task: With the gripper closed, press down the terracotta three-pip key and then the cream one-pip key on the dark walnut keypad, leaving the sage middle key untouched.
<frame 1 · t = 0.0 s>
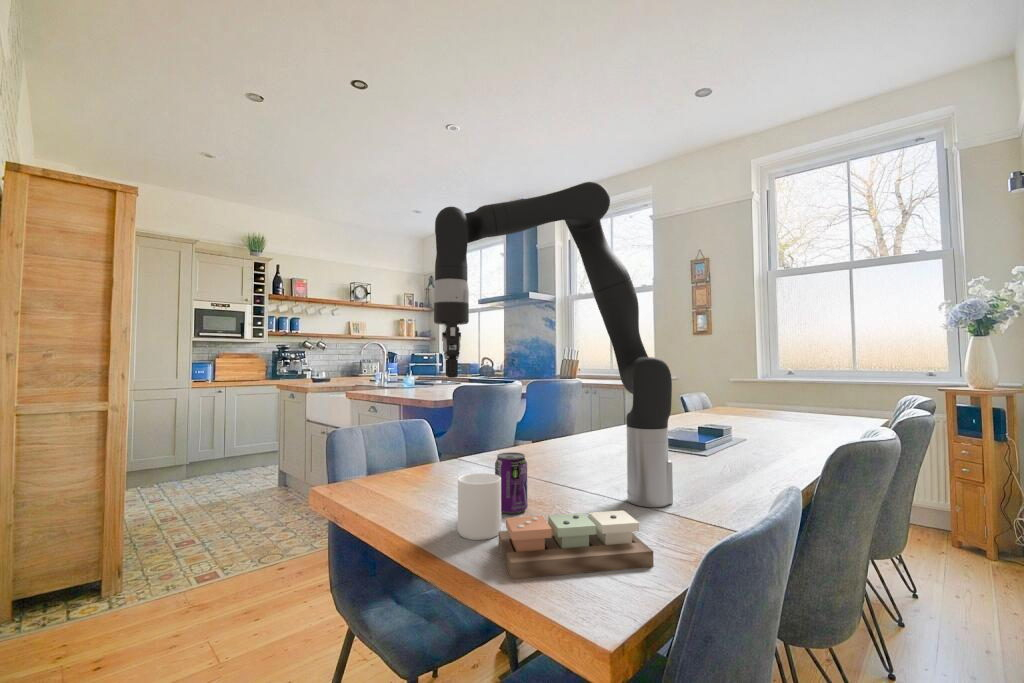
hand: (451, 376, 101), 29 cm above the table, fingers open, 8 cm apart
keypad board: (571, 555, 79), on the table
mug: (479, 530, 91), on the table
key two: (571, 531, 79), point 4 cm above the table, slide at 0.0 cm
key one: (613, 528, 80), point 4 cm above the table, slide at 0.0 cm
key three: (527, 534, 78), point 4 cm above the table, slide at 0.0 cm
beverage can: (511, 511, 102), on the table
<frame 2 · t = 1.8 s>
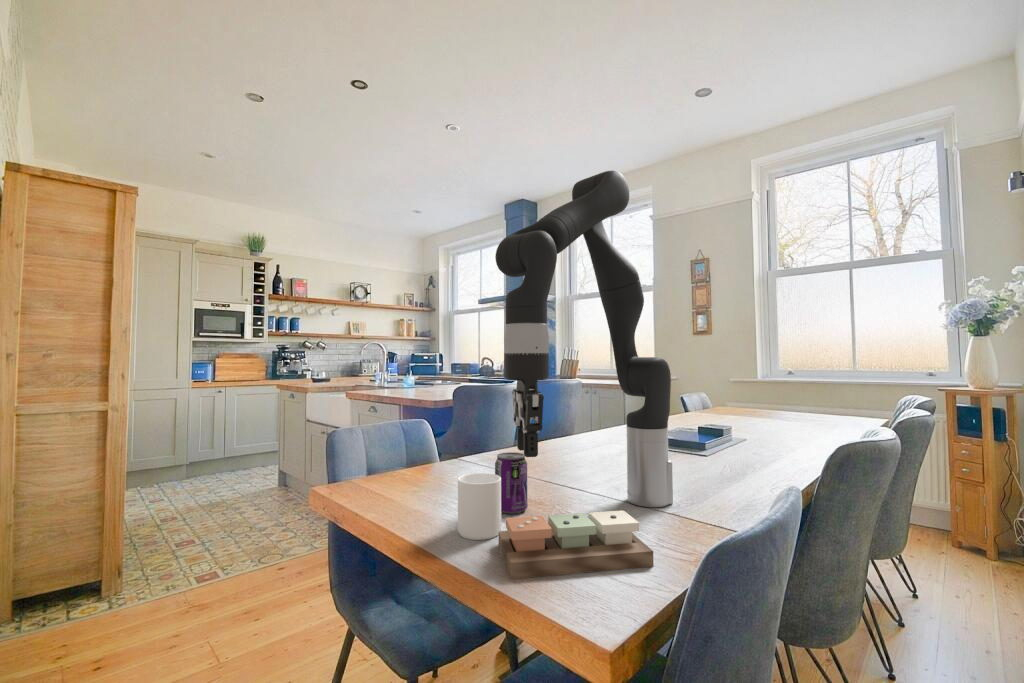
hand: (527, 452, 78), 17 cm above the table, fingers open, 5 cm apart
nothing on the table moved.
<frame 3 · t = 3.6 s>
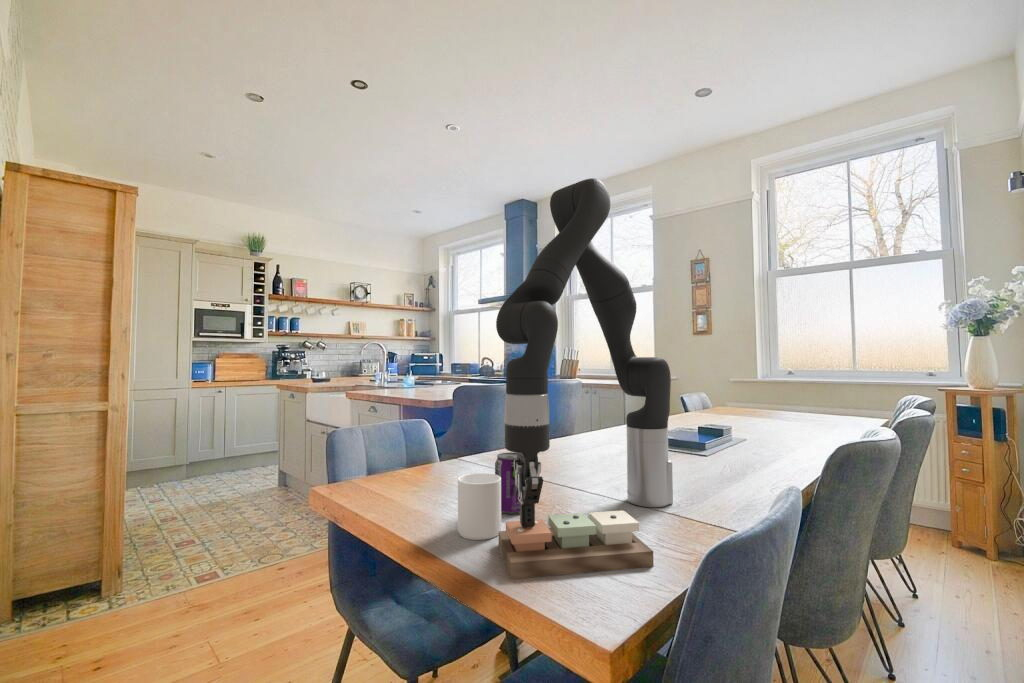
hand: (527, 525, 78), 5 cm above the table, fingers closed
key three: (527, 538, 78), point 3 cm above the table, slide at 0.6 cm, touching gripper
everything else where it was.
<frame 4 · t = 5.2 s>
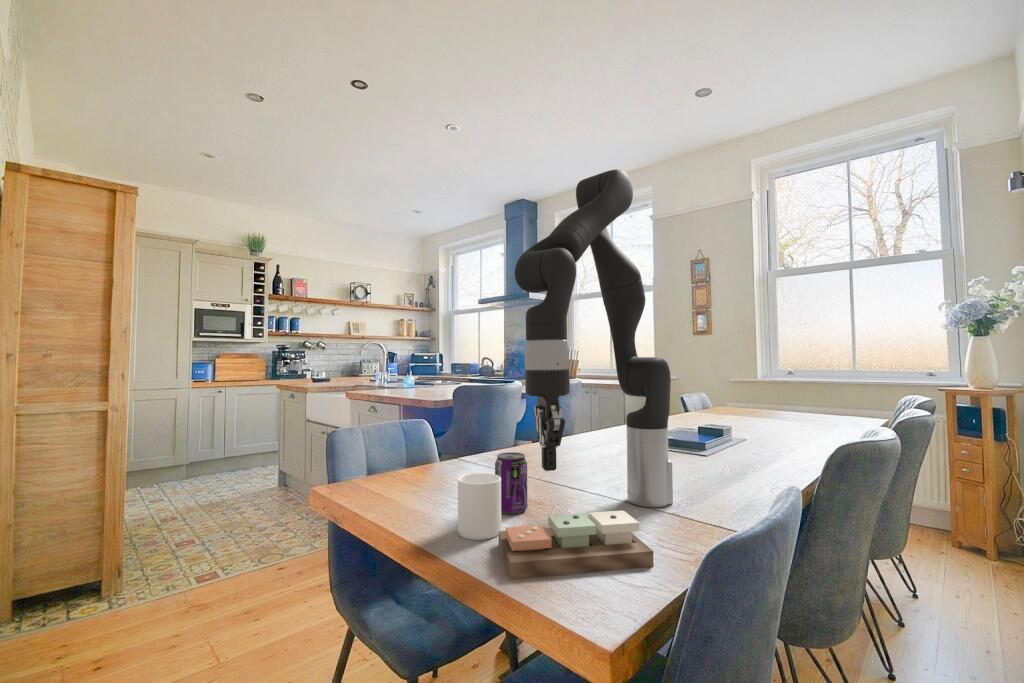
hand: (549, 469, 79), 14 cm above the table, fingers closed
key three: (527, 544, 78), point 2 cm above the table, slide at 1.6 cm
everything else where it was.
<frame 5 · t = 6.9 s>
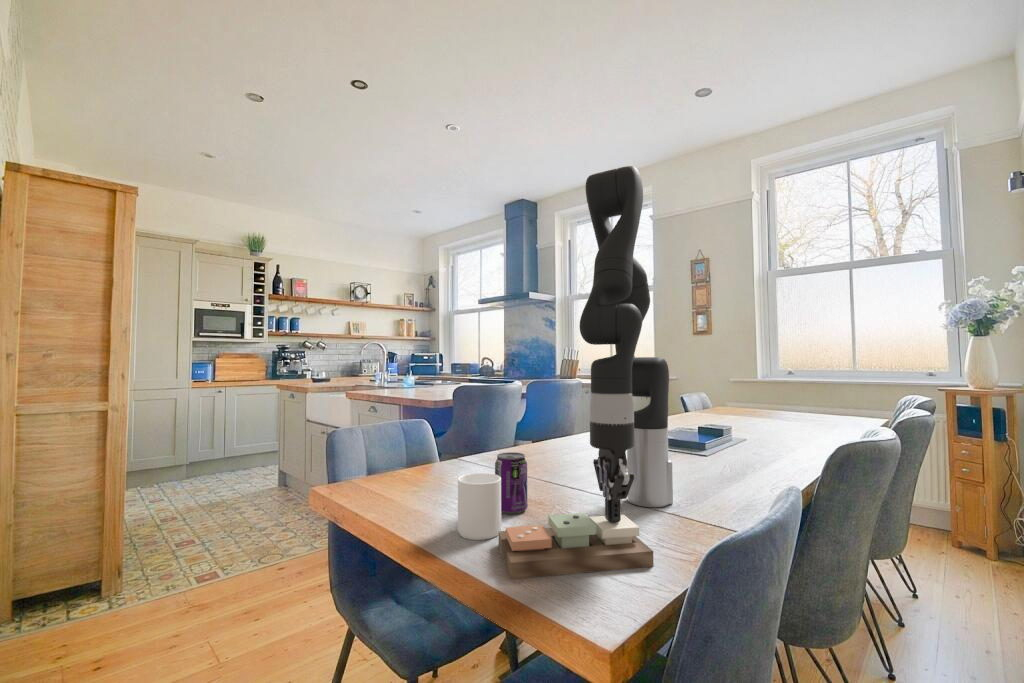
hand: (612, 520, 80), 5 cm above the table, fingers closed
key one: (613, 532, 80), point 3 cm above the table, slide at 0.8 cm, touching gripper
everything else where it was.
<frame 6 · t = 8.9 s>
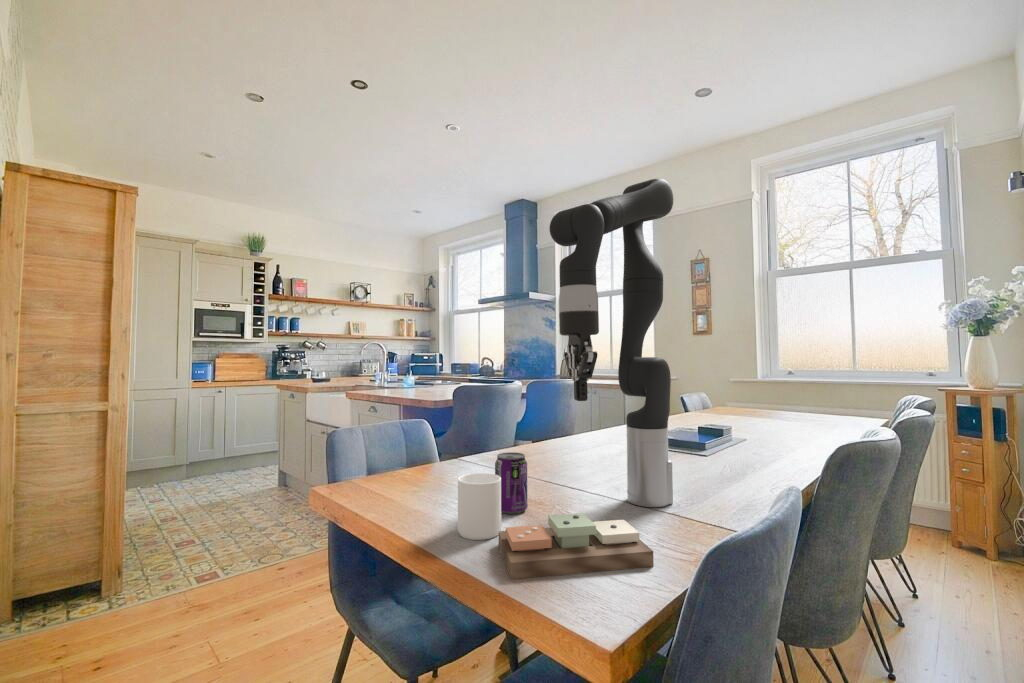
hand: (580, 400, 90), 25 cm above the table, fingers closed
key one: (613, 538, 80), point 2 cm above the table, slide at 1.6 cm
everything else where it was.
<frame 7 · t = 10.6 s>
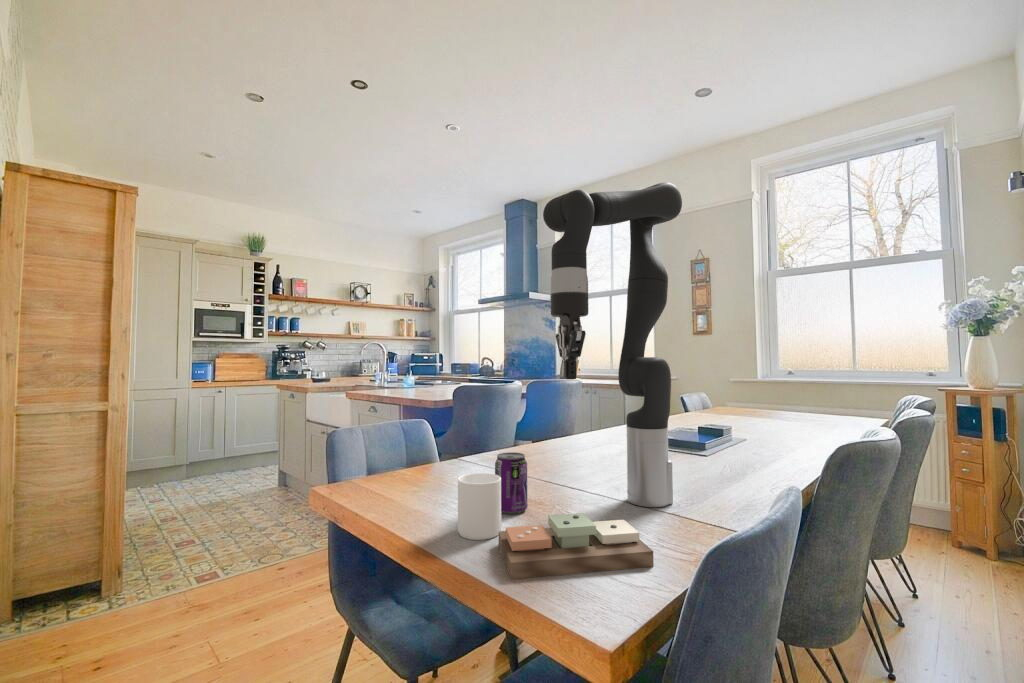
hand: (570, 379, 93), 29 cm above the table, fingers closed
nothing on the table moved.
at the end: key three slide at 1.6 cm; key one slide at 1.6 cm; key two slide at 0.0 cm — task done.
